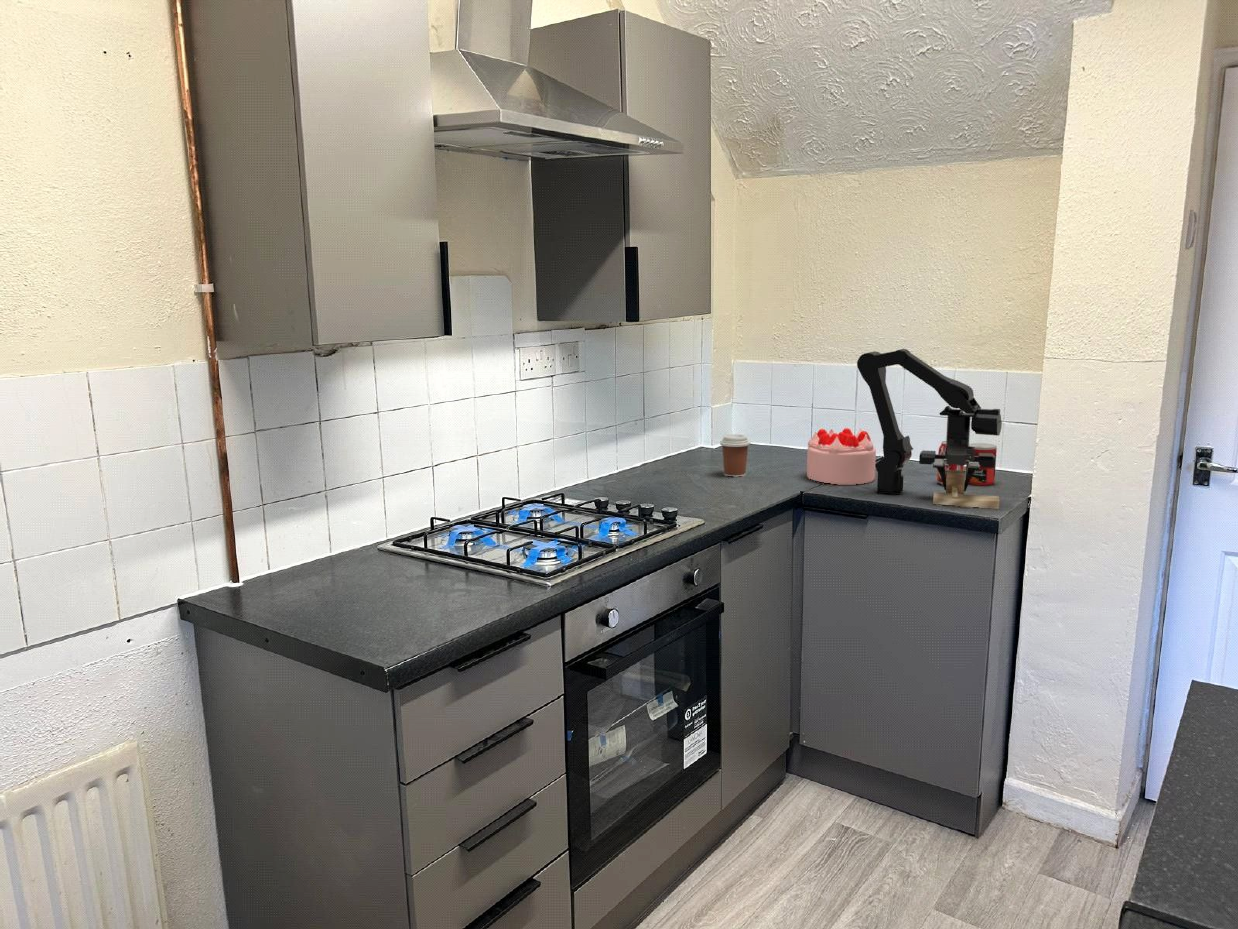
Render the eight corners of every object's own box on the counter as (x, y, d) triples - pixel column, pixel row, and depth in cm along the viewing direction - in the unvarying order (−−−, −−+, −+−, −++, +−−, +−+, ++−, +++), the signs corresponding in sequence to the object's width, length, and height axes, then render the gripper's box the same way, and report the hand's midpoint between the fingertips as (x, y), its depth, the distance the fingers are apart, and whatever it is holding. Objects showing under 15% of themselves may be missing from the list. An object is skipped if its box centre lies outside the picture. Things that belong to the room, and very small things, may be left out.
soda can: (931, 483, 267) (934, 442, 264) (944, 480, 271) (947, 439, 269) (954, 487, 261) (957, 445, 259) (966, 484, 266) (970, 442, 264)
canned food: (959, 482, 268) (961, 444, 266) (976, 479, 272) (979, 442, 270) (982, 487, 262) (985, 448, 260) (1000, 483, 266) (1002, 445, 264)
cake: (880, 474, 281) (881, 427, 278) (867, 488, 263) (869, 438, 260) (815, 469, 289) (816, 424, 286) (799, 483, 271) (800, 434, 269)
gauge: (944, 504, 241) (946, 478, 240) (945, 495, 251) (947, 469, 250) (963, 505, 240) (964, 479, 238) (963, 496, 249) (965, 470, 248)
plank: (932, 504, 243) (933, 497, 243) (933, 499, 249) (934, 492, 248) (999, 509, 238) (999, 501, 237) (998, 503, 243) (998, 496, 243)
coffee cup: (749, 472, 287) (749, 433, 285) (750, 478, 278) (751, 438, 276) (719, 471, 288) (719, 433, 286) (719, 478, 279) (720, 438, 277)
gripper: (919, 436, 241) (916, 495, 244) (997, 439, 235) (993, 499, 238) (921, 429, 251) (918, 486, 254) (996, 432, 245) (992, 490, 248)
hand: (955, 490), depth 248 cm, fingers closed on gauge, 4 cm apart
